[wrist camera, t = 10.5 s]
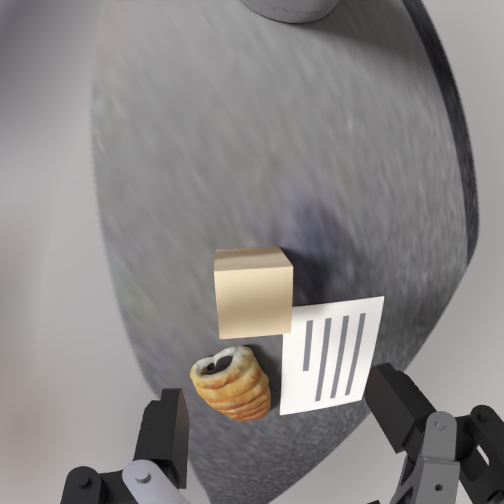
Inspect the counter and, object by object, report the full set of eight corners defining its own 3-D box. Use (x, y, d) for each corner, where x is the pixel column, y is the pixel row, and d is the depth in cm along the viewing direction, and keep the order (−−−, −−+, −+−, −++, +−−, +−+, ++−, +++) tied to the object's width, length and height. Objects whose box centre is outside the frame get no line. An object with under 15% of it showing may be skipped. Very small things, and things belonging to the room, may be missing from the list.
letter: (283, 307, 25) (284, 308, 24) (383, 295, 26) (384, 296, 25) (279, 414, 29) (280, 415, 28) (360, 398, 30) (361, 399, 29)
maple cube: (215, 249, 23) (214, 271, 18) (278, 245, 23) (293, 266, 18) (219, 306, 24) (219, 338, 19) (277, 302, 25) (290, 333, 20)
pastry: (283, 397, 28) (290, 422, 25) (227, 417, 28) (229, 442, 25) (246, 336, 25) (250, 361, 22) (182, 361, 26) (178, 388, 22)
